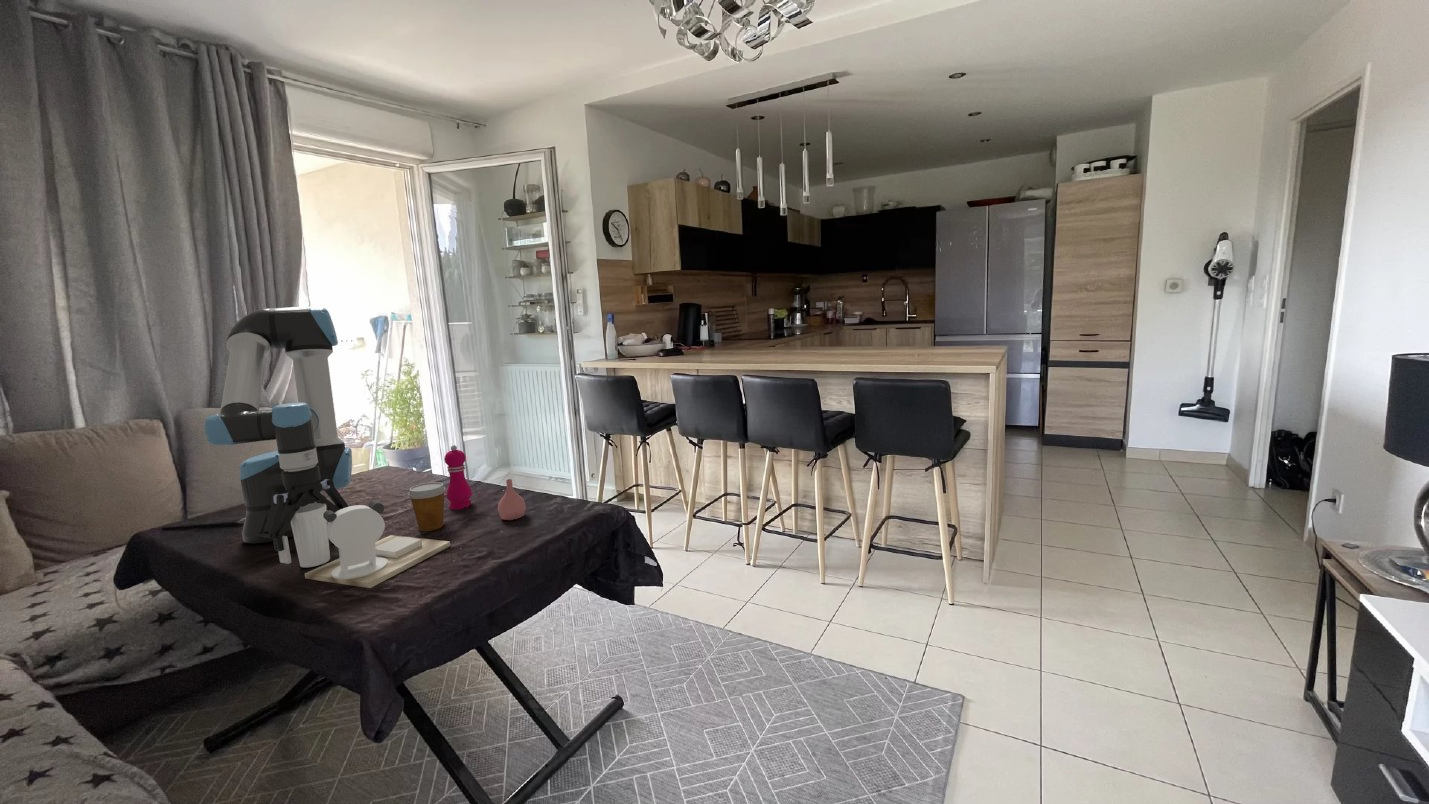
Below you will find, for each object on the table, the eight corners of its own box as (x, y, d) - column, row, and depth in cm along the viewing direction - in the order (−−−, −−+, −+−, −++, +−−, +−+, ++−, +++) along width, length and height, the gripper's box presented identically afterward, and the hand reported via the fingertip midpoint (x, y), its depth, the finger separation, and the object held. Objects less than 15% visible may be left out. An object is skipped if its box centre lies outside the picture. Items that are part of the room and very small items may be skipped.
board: (305, 578, 137) (304, 573, 137) (391, 539, 160) (390, 535, 159) (370, 588, 131) (369, 583, 131) (450, 545, 153) (449, 541, 153)
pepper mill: (443, 511, 181) (435, 448, 178) (457, 503, 188) (449, 442, 185) (464, 511, 180) (457, 448, 177) (477, 504, 187) (471, 442, 184)
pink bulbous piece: (532, 518, 171) (528, 478, 169) (508, 526, 165) (503, 485, 163) (517, 513, 176) (514, 474, 174) (494, 521, 170) (489, 481, 169)
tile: (370, 548, 146) (395, 551, 143) (397, 536, 153) (421, 539, 151) (371, 555, 146) (396, 558, 143) (398, 543, 153) (422, 545, 151)
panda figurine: (382, 553, 147) (374, 495, 145) (397, 565, 139) (388, 504, 137) (326, 569, 139) (316, 508, 136) (338, 584, 131) (328, 519, 128)
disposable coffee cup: (456, 521, 172) (451, 481, 170) (437, 533, 162) (432, 491, 161) (425, 521, 173) (420, 481, 171) (405, 533, 163) (399, 492, 162)
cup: (291, 573, 141) (282, 516, 138) (300, 560, 148) (291, 506, 146) (331, 566, 144) (322, 510, 141) (337, 554, 151) (329, 500, 149)
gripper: (256, 483, 129) (272, 574, 132) (357, 455, 152) (368, 533, 156) (233, 481, 132) (249, 571, 135) (336, 454, 155) (347, 531, 158)
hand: (313, 551), depth 145 cm, fingers open, 13 cm apart
